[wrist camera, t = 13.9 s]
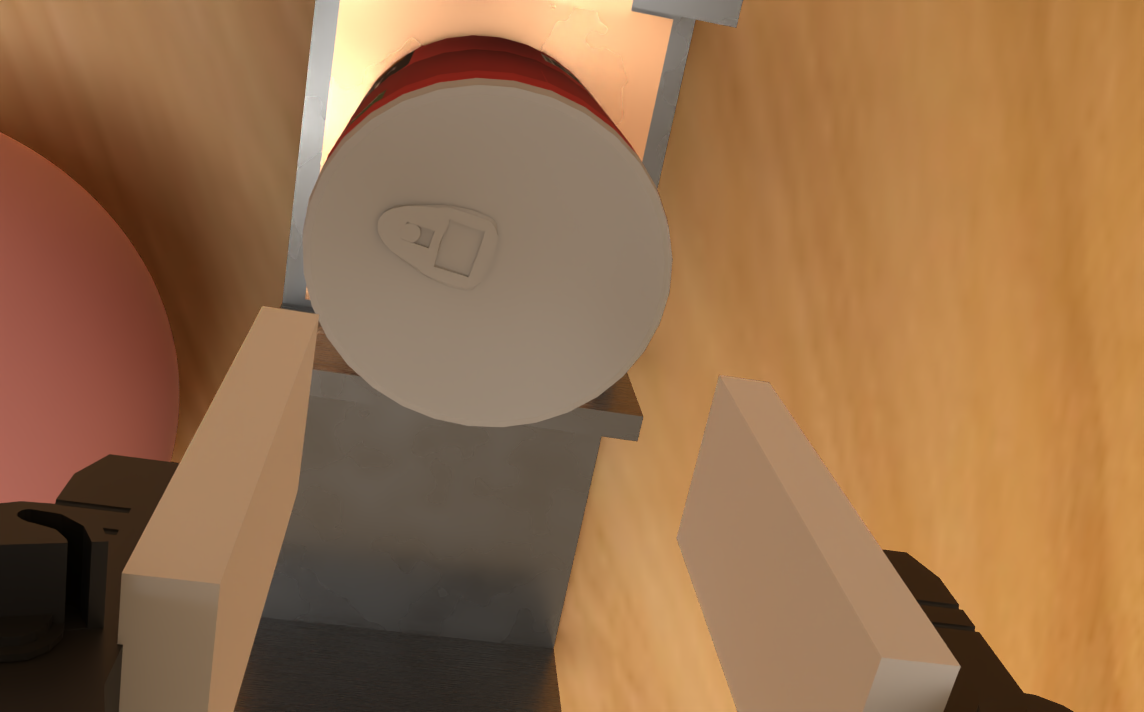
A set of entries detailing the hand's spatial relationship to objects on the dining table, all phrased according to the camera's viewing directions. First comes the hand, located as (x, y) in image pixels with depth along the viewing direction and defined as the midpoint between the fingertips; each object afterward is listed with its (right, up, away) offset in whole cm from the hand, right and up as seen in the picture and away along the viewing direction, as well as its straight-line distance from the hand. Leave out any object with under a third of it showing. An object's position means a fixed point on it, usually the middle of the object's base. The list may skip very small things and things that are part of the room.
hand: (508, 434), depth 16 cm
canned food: (-2, +7, +18) cm, 19 cm away
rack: (-3, +2, +21) cm, 22 cm away
